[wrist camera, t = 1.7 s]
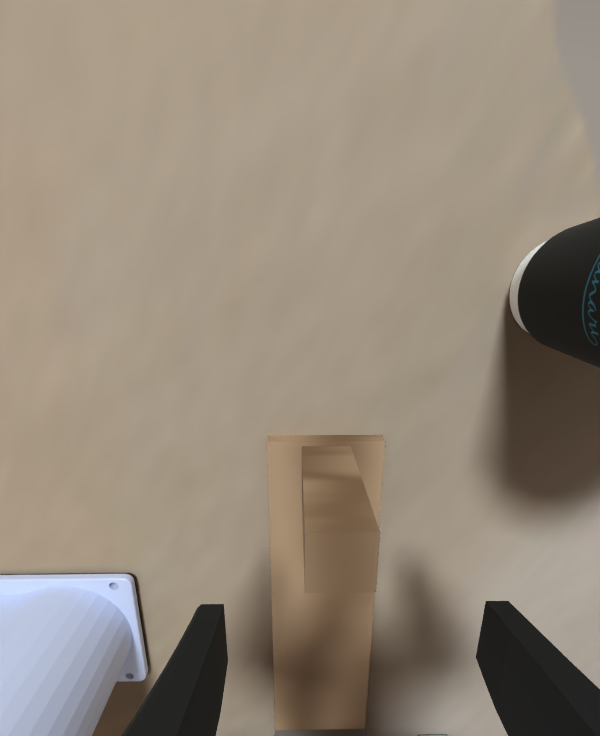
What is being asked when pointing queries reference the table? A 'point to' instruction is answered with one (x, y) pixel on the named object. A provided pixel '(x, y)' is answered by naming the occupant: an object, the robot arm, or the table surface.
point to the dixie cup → (562, 292)
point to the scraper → (323, 578)
